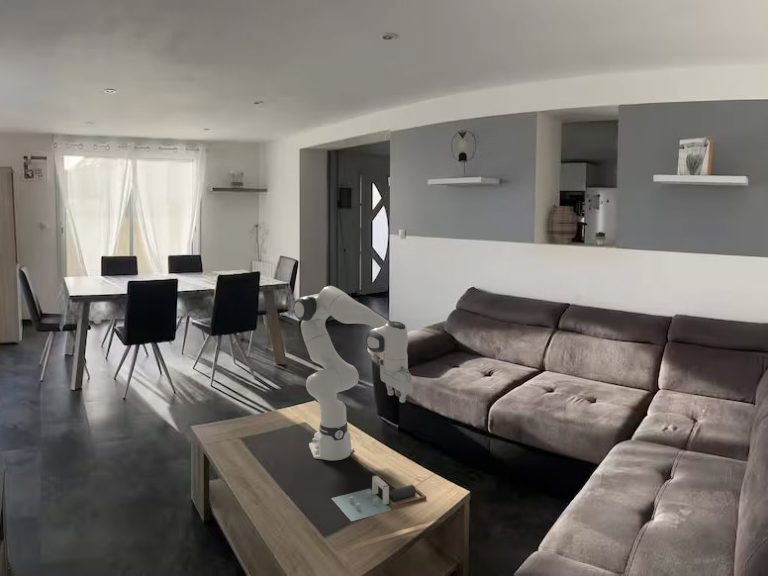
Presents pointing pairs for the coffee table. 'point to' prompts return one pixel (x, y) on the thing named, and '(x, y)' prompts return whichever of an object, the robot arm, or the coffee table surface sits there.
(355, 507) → the clip board
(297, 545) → the coffee table surface
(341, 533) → the coffee table surface
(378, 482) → the u-shaped staple bracket
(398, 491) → the dark grey rounded bar
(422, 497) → the tray
